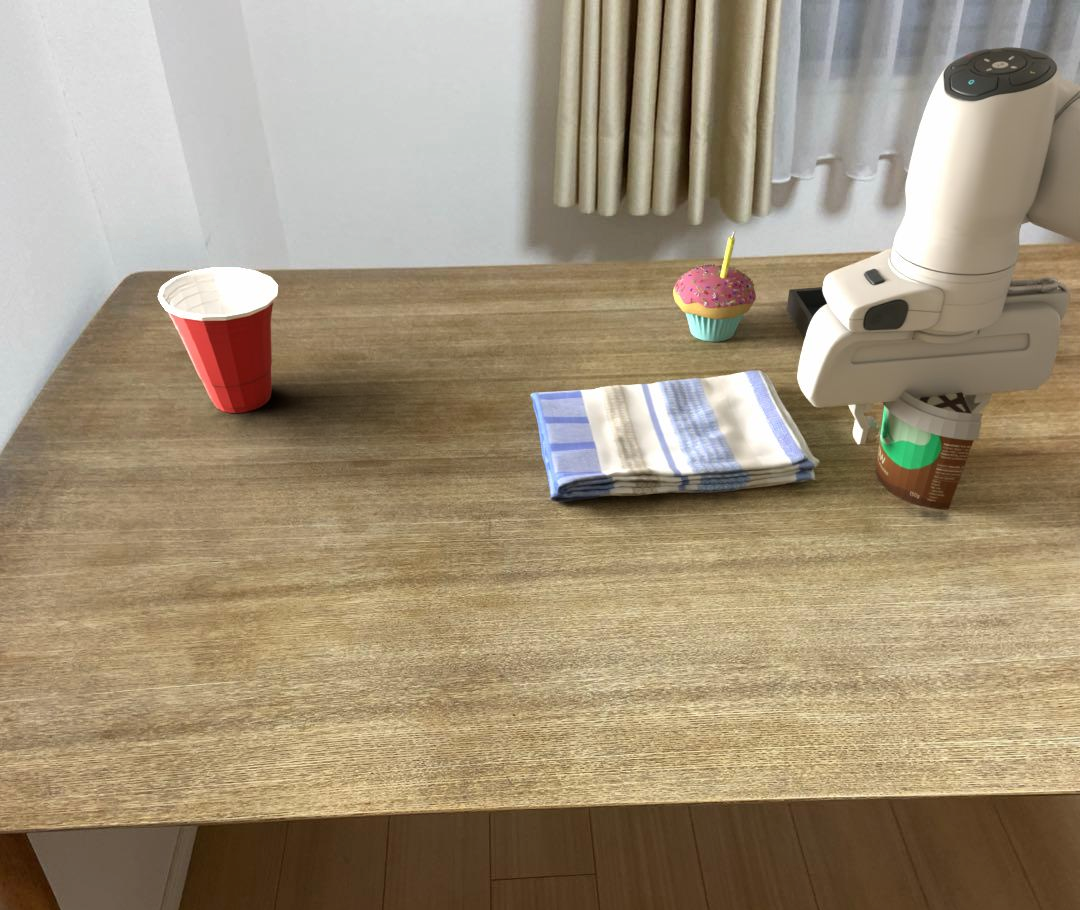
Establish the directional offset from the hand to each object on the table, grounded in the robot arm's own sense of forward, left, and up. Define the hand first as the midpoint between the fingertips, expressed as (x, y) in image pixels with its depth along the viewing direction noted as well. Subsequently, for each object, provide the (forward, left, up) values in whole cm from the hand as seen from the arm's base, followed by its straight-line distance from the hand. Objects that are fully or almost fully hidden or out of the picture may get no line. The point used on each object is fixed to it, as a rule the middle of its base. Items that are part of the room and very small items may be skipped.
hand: (908, 436), depth 87 cm
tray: (-8, -24, -4) cm, 26 cm away
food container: (0, 0, -4) cm, 4 cm away
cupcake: (+10, -28, -4) cm, 30 cm away
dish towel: (+19, -8, -4) cm, 21 cm away
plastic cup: (+59, -22, -4) cm, 63 cm away
